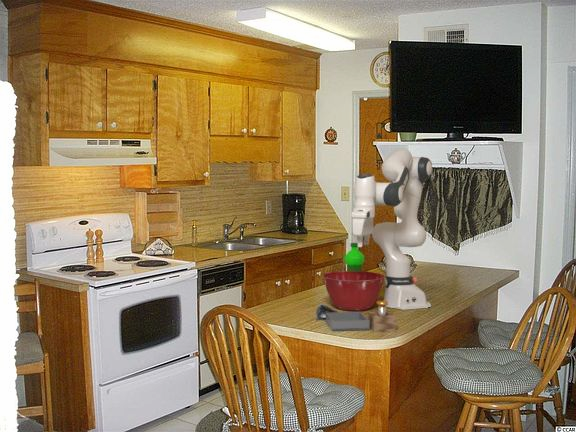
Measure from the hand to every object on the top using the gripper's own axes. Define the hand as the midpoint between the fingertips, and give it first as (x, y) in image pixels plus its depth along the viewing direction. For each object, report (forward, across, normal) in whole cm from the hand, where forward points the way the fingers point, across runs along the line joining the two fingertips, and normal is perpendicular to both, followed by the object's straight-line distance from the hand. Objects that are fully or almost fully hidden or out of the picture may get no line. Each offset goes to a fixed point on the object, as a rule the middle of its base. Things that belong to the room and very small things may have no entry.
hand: (363, 245), depth 264 cm
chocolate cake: (+33, 0, -14) cm, 36 cm away
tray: (+32, +10, -3) cm, 34 cm away
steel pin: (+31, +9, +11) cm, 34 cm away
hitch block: (+32, +9, +11) cm, 35 cm away
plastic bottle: (+30, -64, -21) cm, 74 cm away
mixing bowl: (+32, -23, -10) cm, 40 cm away
